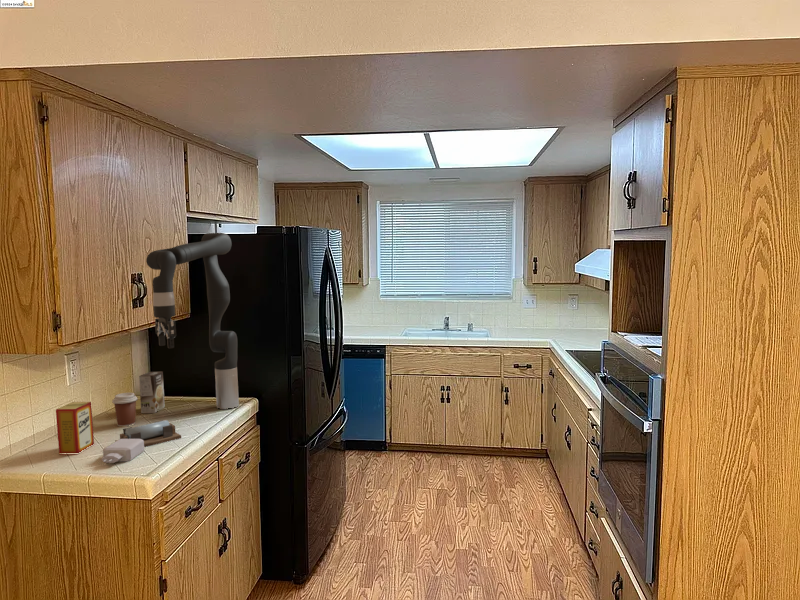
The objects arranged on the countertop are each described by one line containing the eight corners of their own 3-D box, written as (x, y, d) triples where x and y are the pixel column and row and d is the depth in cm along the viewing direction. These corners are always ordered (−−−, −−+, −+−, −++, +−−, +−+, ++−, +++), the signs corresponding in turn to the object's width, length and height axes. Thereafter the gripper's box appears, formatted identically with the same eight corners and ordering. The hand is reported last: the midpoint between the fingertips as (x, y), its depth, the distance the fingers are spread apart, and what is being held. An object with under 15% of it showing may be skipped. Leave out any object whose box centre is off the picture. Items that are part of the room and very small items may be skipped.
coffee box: (155, 413, 242) (153, 375, 241) (140, 413, 242) (138, 376, 241) (165, 407, 251) (163, 371, 250) (151, 407, 251) (148, 371, 250)
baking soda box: (77, 454, 194) (74, 408, 193) (59, 454, 194) (55, 408, 193) (94, 444, 204) (90, 400, 202) (76, 444, 204) (73, 400, 202)
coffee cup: (141, 420, 233) (139, 391, 231) (136, 426, 224) (134, 396, 223) (116, 422, 230) (114, 392, 229) (111, 428, 222) (109, 398, 220)
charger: (92, 469, 181) (118, 452, 196) (120, 469, 181) (144, 452, 196) (91, 454, 181) (117, 438, 196) (119, 454, 180) (143, 438, 195)
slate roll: (130, 444, 200) (129, 430, 200) (125, 440, 204) (124, 427, 203) (170, 435, 210) (169, 421, 209) (165, 431, 213) (164, 418, 213)
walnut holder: (115, 443, 205) (114, 429, 204) (168, 430, 217) (167, 418, 217) (126, 451, 196) (125, 437, 195) (181, 438, 209) (180, 424, 208)
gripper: (181, 304, 212) (184, 347, 214) (166, 302, 223) (169, 343, 224) (161, 306, 207) (163, 350, 209) (146, 303, 217) (149, 346, 219)
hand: (166, 346), depth 216 cm, fingers open, 8 cm apart
